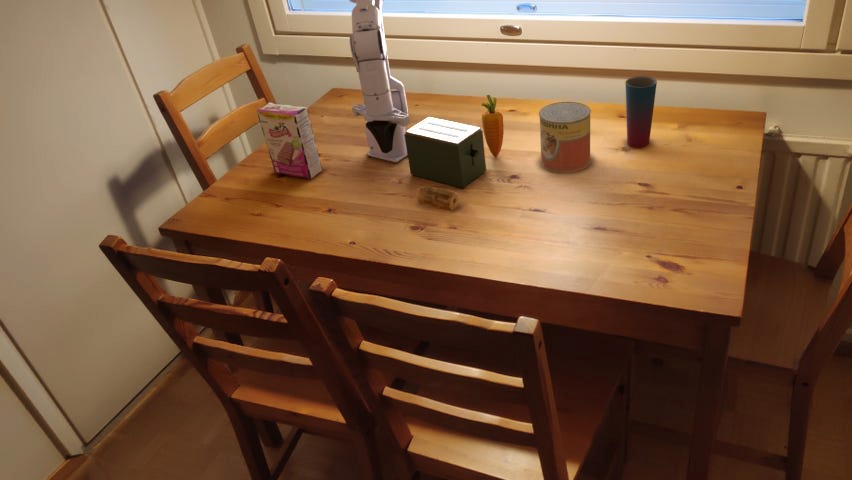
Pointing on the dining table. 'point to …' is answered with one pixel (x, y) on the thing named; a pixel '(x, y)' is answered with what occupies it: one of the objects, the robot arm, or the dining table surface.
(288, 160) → the candy bar box
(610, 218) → the dining table surface
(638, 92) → the cup
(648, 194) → the dining table surface
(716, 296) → the dining table surface
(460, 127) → the toaster
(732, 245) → the dining table surface
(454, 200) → the tan cylinder with hole
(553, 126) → the canned food
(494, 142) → the carrot
